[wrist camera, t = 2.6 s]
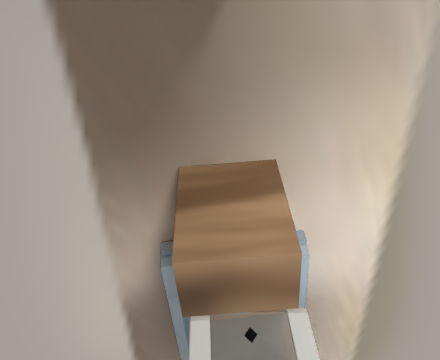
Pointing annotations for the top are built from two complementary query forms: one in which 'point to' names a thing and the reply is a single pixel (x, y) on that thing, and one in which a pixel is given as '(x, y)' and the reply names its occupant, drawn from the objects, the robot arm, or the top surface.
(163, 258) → the tray
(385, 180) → the top surface
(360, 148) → the top surface
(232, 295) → the wooden block
